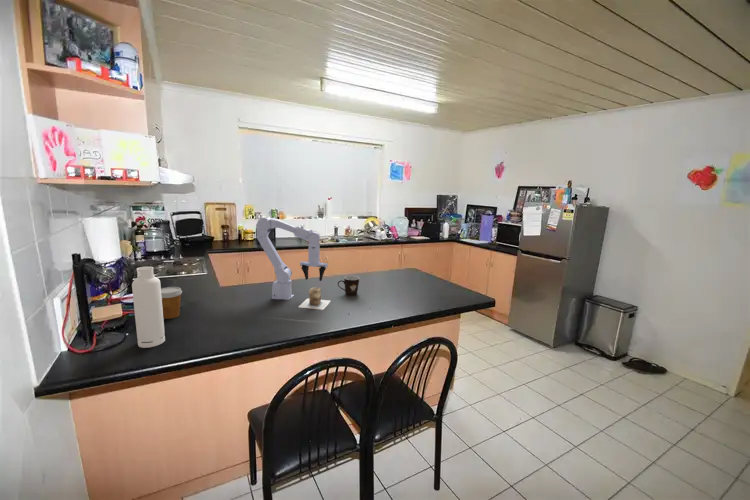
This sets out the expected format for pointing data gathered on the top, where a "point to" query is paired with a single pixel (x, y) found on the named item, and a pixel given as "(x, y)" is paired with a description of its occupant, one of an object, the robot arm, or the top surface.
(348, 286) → the coffee mug
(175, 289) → the disposable coffee cup
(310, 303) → the walnut block
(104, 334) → the top surface
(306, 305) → the board
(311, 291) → the maple block
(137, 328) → the bottle
